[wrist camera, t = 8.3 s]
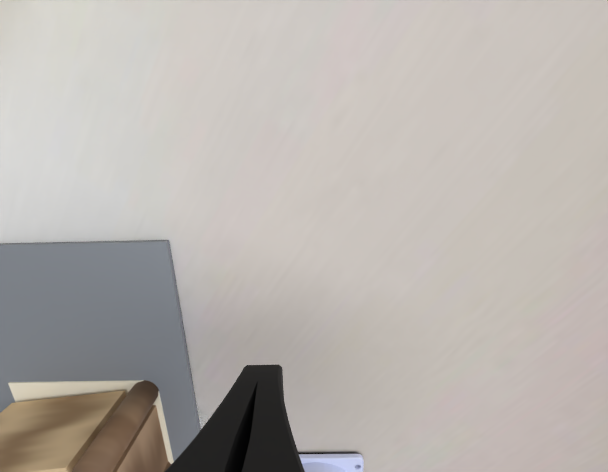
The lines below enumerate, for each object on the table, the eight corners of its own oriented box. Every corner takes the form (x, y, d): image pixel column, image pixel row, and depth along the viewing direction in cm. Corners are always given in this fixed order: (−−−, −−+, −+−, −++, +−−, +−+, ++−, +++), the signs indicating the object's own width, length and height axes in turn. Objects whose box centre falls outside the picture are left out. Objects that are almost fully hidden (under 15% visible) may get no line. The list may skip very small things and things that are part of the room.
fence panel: (123, 389, 22) (53, 482, 16) (129, 404, 22) (62, 499, 16) (10, 402, 22) (-102, 496, 16) (17, 416, 22) (-89, 513, 16)
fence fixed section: (175, 471, 25) (135, 569, 19) (152, 471, 25) (105, 569, 19) (156, 380, 22) (103, 461, 16) (130, 380, 22) (68, 462, 16)
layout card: (206, 469, 25) (204, 475, 25) (26, 471, 25) (20, 477, 25) (168, 240, 19) (165, 242, 19) (-68, 245, 19) (-77, 247, 19)
